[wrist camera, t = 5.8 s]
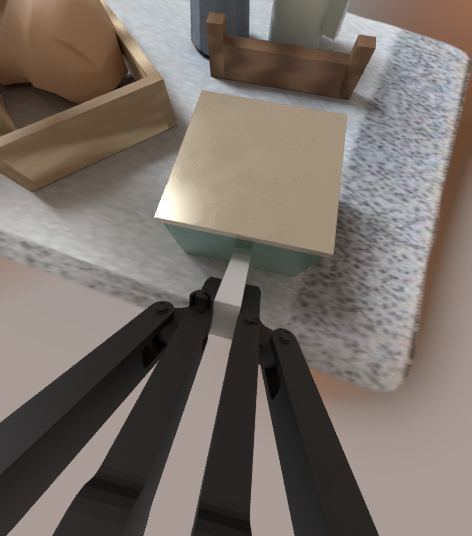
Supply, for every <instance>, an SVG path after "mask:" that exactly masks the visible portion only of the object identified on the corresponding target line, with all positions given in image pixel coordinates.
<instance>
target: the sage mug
mask: <svg viewBox="0 0 472 536" xmlns="http://www.w3.org/2000/svg"><path fill="white" fill-rule="evenodd" d="M349 3H350V0H273V5H272V13H271V21H270V29H269V38H268V41H269V42H276V43H282V44H288V45H295V46H301V47H307V48H314V49H319V46H320V42H321V39H322V36H323V35H324V36H326V37H328V38H330V39H332V40H334V39H335V38H336V37H337V36H338V33H339V30H340V28H341V25H342V22H343V20H344V17H345V14H346V11H347V8H348V6H349Z"/></svg>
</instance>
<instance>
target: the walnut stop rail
mask: <svg viewBox="0 0 472 536" xmlns="http://www.w3.org/2000/svg"><path fill="white" fill-rule="evenodd" d="M206 30H207V41H208V51H209V61H210V71H211V76H212V77H218V78H224V79H230V80H236V81H242V82H248V83H254V84H260V85H265V86H271V87H277V88H283V89H289V90H295V91H301V92H307V93H313V94H319V95H325V96H330V97H336V98H342V99H348V100H349V98H350V96H351V94H352V92H353V90H354V89H355V87H356V85H357V83H358V81H359V79H360V77H361V75H362V73H363V71H364V69H365V68H366V66H367V64H368V62H369V60H370V58H371V56H372V54H373V52H374V50H375V48H376V37H372V36H365V35H358V38H357V40H356V42H355V44H354V47H353V49H352V51H351V54H345V53H339V52H333V51H326V50H320V49H314V48H307V47H301V46H295V45H288V44H282V43H276V42H269V41H263V40H257V39H250V38H244V37H237V36H231V35H227V34H226V14H220V13H214V12H210V13H209V15H208V18H207V20H206Z"/></svg>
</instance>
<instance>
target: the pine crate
mask: <svg viewBox="0 0 472 536" xmlns="http://www.w3.org/2000/svg"><path fill="white" fill-rule="evenodd" d="M100 1H101V3H102V5H103V6H104V8H105V10H106V12H107V14H108V15H109V17H110V19H111V21H112V23H113V26H114V30H115V33H116V36H117V39H118V42H119V45H120V48H121V51H122V54H123V57H124V60H125V63H126V66H127V69H128V71H129V72H130V74H131V75H132V77H133V78H134V79H135V81H136V82H133V83H131V84H128V85H126V86H124V87H121V88H119V89H116V90H114V91H111V92H109V93H106V94H104V95H101V96H99V97H97V98H94V99H92V100H89V101H87V102H84V103H82V104H79V105H77V106H74V107H72V108H70V109H67V110H65V111H62V112H60V113H57V114H55V115H52V116H50V117H47V118H45V119H43V120H40V121H38V122H35V123H33V124H30V125H28V126H25V127H23V128H20V129H18V130H16V128H15V125H14V123H13V121H12V119H11V116H10V114H9V112H8V109H7V107H6V105H5V103H4V100H3V98H2V96H1V93H0V173H1V174H3V175H5V176H6V177H8V178H10V179H11V180H13V181H14V182H16V183H18V184H19V185H21V186H23V187H24V188H26V189H27V190H29V191H31V192H32V191H35V190H37V189H39V188H41V187H43V186H45V185H48V184H50V183H52V182H54V181H56V180H59V179H61V178H63V177H65V176H67V175H69V174H72V173H74V172H76V171H78V170H80V169H83V168H85V167H87V166H89V165H91V164H93V163H96V162H98V161H100V160H102V159H104V158H107V157H109V156H111V155H113V154H115V153H117V152H120V151H122V150H124V149H126V148H128V147H130V146H133V145H135V144H137V143H139V142H141V141H144V140H146V139H148V138H150V137H152V136H154V135H157V134H159V133H161V132H163V131H165V130H168V129H170V128H172V127H174V126H176V125H177V124H176V120H175V117H174V114H173V110H172V107H171V104H170V100H169V97H168V94H167V90H166V87H165V84H164V80H163V78H162V77H161V76H160V74H159V73H158V72H157V70H156V69H155V68H154V66H153V65H152V64H151V62H150V61H149V60H148V58H147V57H146V56H145V54H144V53H143V52H142V50H141V49H140V48H139V46H138V45H137V44H136V42H135V41H134V40H133V38H132V37H131V36H130V34H129V33H128V32H127V30H126V29H125V27H124V26H123V25H122V23H121V22H120V21H119V19H118V18H117V17H116V15H115V14H114V13H113V11H112V10H111V9H110V7H109V6H108V5H107V3H106V2H105V1H104V0H100ZM6 3H7V0H0V24H1V21H2V17H3V14H4V10H5V6H6Z"/></svg>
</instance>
